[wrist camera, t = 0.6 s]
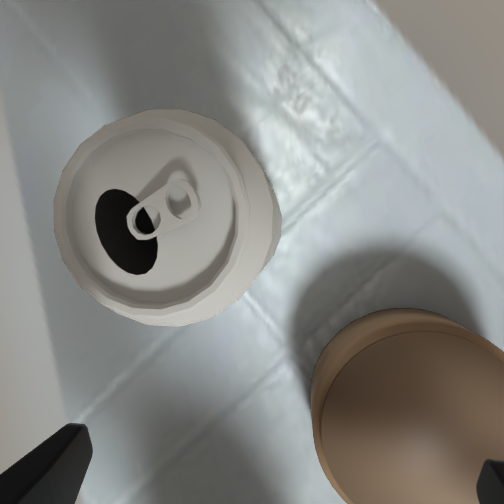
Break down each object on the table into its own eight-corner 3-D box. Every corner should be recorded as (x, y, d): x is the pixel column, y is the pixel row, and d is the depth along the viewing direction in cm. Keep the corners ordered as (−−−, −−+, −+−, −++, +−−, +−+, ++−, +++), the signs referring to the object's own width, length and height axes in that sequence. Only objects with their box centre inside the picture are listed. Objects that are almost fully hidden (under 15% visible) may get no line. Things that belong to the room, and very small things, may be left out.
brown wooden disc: (480, 507, 23) (520, 567, 19) (295, 466, 24) (296, 514, 20) (520, 327, 22) (571, 348, 18) (327, 292, 23) (334, 305, 19)
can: (141, 195, 24) (-12, 160, 12) (249, 140, 23) (201, 42, 11) (193, 304, 24) (92, 379, 12) (303, 253, 23) (314, 278, 11)
